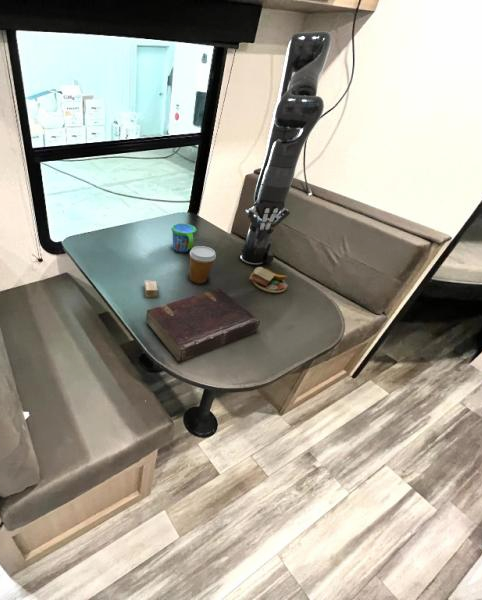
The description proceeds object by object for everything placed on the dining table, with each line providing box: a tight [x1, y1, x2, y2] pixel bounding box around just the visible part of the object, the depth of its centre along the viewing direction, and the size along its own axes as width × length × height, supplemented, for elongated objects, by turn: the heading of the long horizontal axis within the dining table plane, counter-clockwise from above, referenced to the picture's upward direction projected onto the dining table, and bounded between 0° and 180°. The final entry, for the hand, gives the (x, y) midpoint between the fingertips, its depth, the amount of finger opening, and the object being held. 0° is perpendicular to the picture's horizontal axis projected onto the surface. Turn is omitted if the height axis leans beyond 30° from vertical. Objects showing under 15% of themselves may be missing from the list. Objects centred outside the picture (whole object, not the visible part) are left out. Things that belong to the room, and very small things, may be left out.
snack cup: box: [170, 222, 197, 253], centre depth 139 cm, size 16×10×10 cm
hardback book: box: [145, 287, 261, 362], centre depth 97 cm, size 29×19×5 cm, turn 117°
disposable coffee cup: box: [189, 245, 217, 284], centre depth 118 cm, size 10×10×12 cm
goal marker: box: [143, 280, 159, 298], centre depth 113 cm, size 4×6×3 cm, turn 3°
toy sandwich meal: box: [249, 266, 289, 294], centre depth 119 cm, size 12×14×5 cm
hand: (259, 239), depth 96 cm, fingers closed
